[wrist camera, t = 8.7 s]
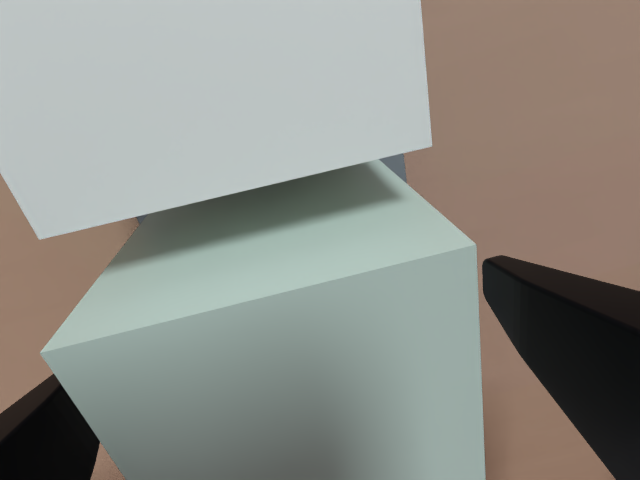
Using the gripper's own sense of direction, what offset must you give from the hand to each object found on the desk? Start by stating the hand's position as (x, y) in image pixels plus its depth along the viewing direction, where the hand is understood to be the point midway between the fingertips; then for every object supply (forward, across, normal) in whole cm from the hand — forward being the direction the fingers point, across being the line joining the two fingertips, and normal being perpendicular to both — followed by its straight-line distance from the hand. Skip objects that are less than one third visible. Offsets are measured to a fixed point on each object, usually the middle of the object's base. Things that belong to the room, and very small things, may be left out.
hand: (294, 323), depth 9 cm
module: (+4, 0, 0) cm, 4 cm away
